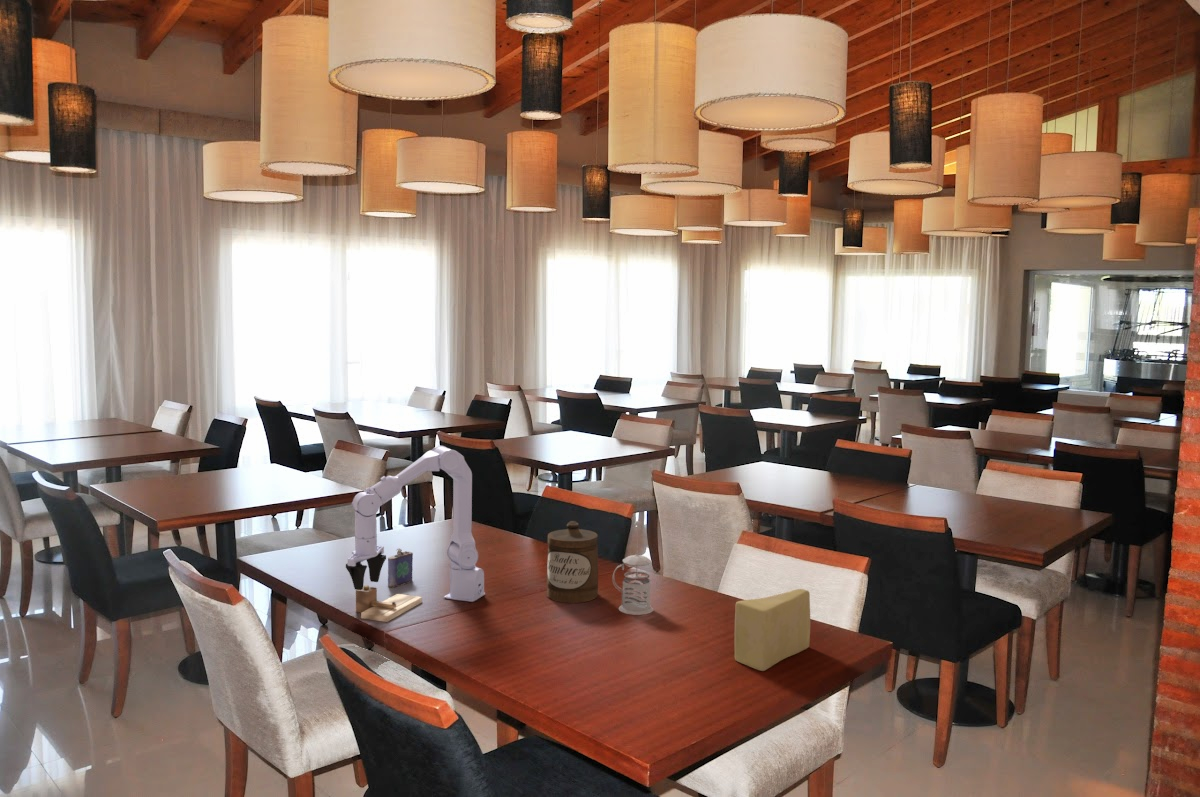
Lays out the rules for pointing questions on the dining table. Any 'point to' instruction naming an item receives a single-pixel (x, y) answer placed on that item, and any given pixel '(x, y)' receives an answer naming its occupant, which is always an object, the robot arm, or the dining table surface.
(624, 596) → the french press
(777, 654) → the cheese
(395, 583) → the flask
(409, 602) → the board
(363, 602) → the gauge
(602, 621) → the dining table surface
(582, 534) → the wooden container
